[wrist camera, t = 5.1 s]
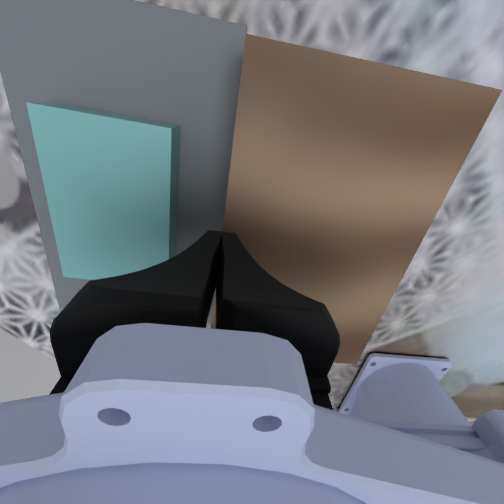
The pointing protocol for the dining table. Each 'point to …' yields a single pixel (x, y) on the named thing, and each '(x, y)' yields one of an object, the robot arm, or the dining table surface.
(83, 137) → the teal block
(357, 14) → the dining table surface
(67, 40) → the mat
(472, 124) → the brown wooden block
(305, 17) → the dining table surface
